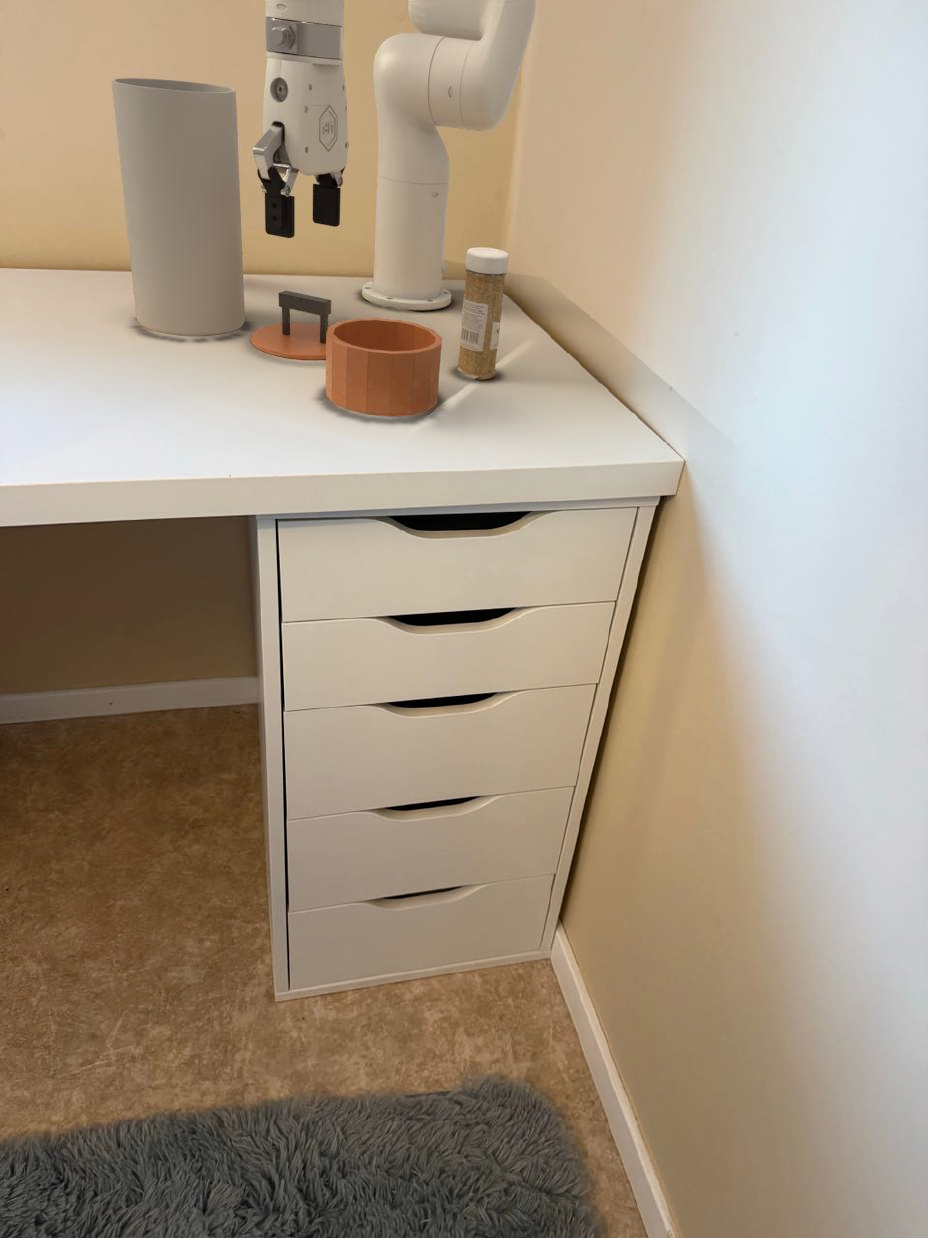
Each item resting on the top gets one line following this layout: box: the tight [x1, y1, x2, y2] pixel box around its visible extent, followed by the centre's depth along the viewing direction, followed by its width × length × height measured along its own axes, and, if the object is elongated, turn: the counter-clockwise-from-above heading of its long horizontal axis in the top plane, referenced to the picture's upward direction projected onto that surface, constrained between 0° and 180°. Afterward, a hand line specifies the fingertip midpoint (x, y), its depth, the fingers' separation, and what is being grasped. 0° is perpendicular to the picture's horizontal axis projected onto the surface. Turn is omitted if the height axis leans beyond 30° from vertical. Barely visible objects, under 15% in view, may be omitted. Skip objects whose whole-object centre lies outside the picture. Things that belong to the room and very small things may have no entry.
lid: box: [250, 290, 332, 361], centre depth 104 cm, size 12×12×6 cm
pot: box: [325, 317, 443, 417], centre depth 92 cm, size 11×11×7 cm
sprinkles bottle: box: [456, 246, 510, 381], centre depth 100 cm, size 5×5×13 cm
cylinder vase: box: [111, 77, 246, 337], centre depth 102 cm, size 12×12×25 cm
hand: (303, 229), depth 98 cm, fingers open, 9 cm apart
